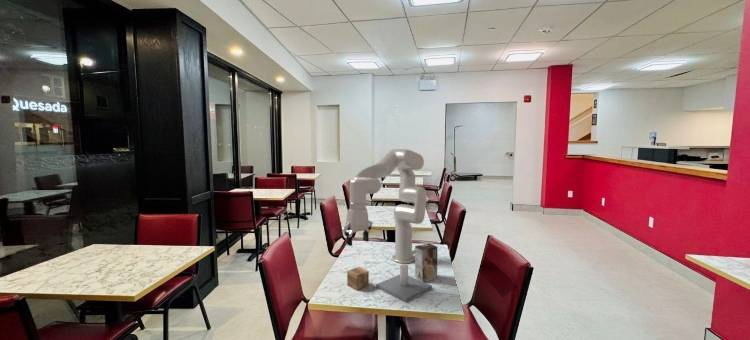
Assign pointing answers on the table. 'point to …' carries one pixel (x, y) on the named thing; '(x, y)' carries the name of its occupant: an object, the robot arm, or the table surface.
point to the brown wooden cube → (358, 278)
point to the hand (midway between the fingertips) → (357, 243)
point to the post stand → (404, 285)
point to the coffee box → (426, 262)
